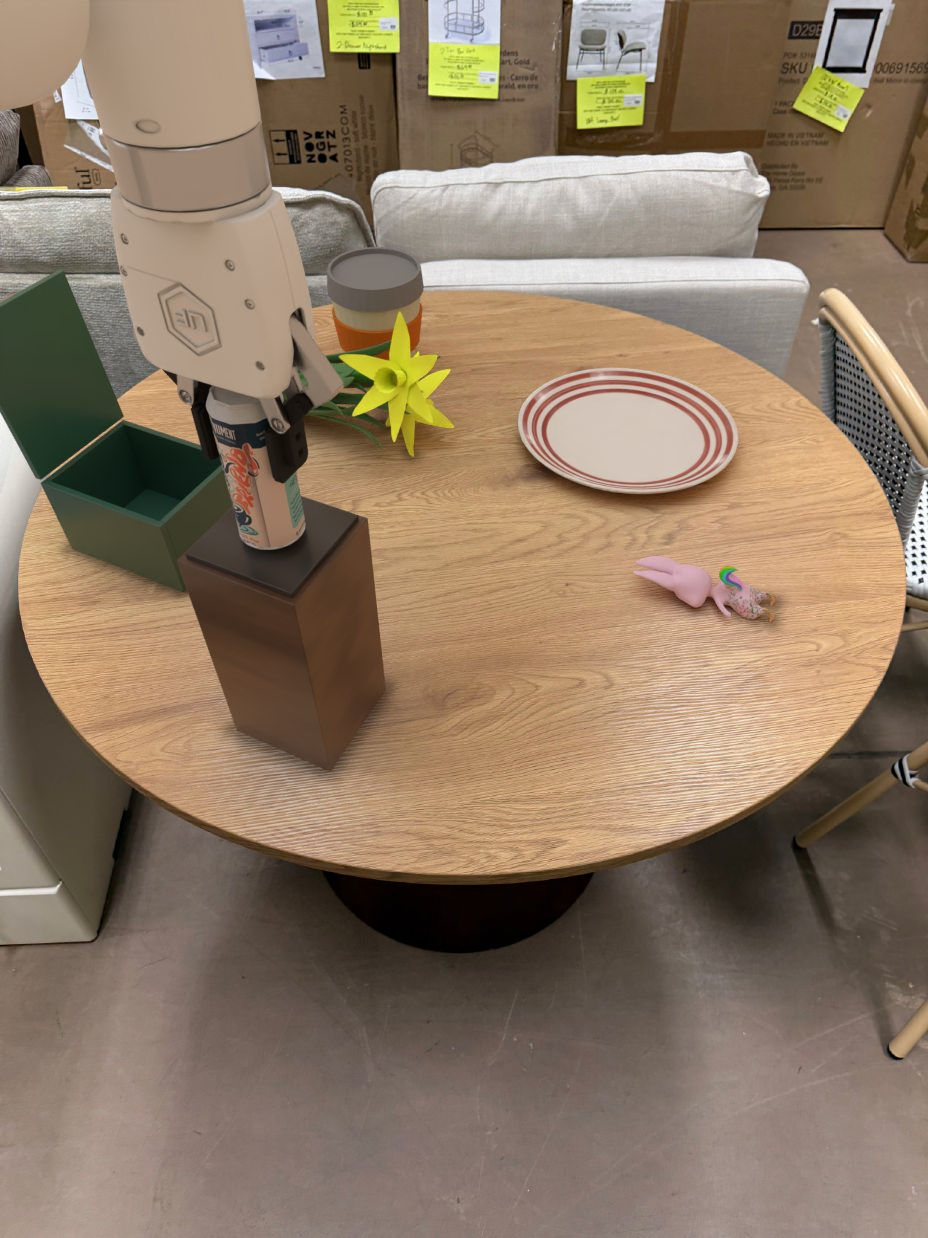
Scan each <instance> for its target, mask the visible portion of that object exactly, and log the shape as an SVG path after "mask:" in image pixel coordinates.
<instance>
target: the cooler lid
mask: <svg viewBox="0 0 928 1238" xmlns="http://www.w3.org/2000/svg"><path fill="white" fill-rule="evenodd" d="M0 415H1V417H2V418H3V420H4V422H5V424H6V426H7V428H8V430H9V431H10V433H11V435H12V437H13V439H14V441H15V443H16V444H17V446H18V448H19V450H20V452H21V454H22V455H23V458H24V460H25V462H26V463H27V465H28V467H29V469H30V471H31V473H32V474H33V476H34V478H35V479H37V480H41V481H43V480H44V478H47V476H48V475H49V474H52V473H53V472H54V471H56V469H58V468H60V467H61V466H62V465H64V463H66V461H67V462H68V461H69V459H71V458H73V456H75V455H77V453H78V452H81V451H82V449H85V448H86V447H87V445H88V446H89V445H90V443H92V442H94V441H95V440H96V439H98V437H100V436H102V434H104V433H106V431H107V430H110V429H111V428H112V427H113V426H115V425H116V424H117V423H119V422H120V421H121V420H123V418H124V417H125V416H124V413H123V410H122V408H121V406H120V403H119V401H118V398H117V396H116V394H115V391H114V389H113V387H112V384H111V382H110V379H109V377H108V373H107V371H106V370H105V367H104V364H103V362H102V359H101V358H100V355H99V353H98V350H97V348H96V345H95V343H94V341H93V338H92V336H91V334H90V331H89V329H88V327H87V323H86V322H85V319H84V317H83V315H82V312H81V308H80V307H79V304H78V302H77V300H76V297H75V295H74V292H73V290H72V288H71V285H70V283H69V281H68V278H67V275H66V273H65V271H64V270H61V269H57V270H55V271H53V272H52V273H50V274H48V275H46V276H45V277H43V278H41V279H38V280H37V281H35V282H34V283H32V284H30V285H29V286H27V287H25V288H24V289H22V290H19V291H18V292H16V293H13V292H12V293H11V294H8V295H7V296H5V297H3V298H1V299H0Z"/></svg>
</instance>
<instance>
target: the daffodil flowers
mask: <svg viewBox="0 0 928 1238" xmlns="http://www.w3.org/2000/svg"><path fill="white" fill-rule="evenodd" d="M388 349H390V352H389V359H390V361H388V360H384V359H379V358H375V357H374V356H376V355H379V354H381V353H383V352H385V351H386V350H388ZM324 355H325V356H326V358H327V359H328V361H329V362H330V363H331V365H332V366H333V368H334V369H335V370H336V372H337V373H338V375H339V376H340V377H341V379H342V381H343V382H344V388H343V389H342V390H344V389H358V390H360V391H362V392H363V393H350V392H341V391H340V392H339V393H338V394H337V395H336V396H335V397H334V398H333V399H332V400H330V401H328V402H326V403H325V404H323V405H321V406H319V407H317V408H314V409H313V410H311V411H309V412H308V413H307V414H306V415H305V416H306V417H307V416H308V417H309V416H310V417H314V418H317V419H318V418H319V419H322V420H327V421H331V422H335V423H338V424H341V425H344V426H348V427H351V428H354V429H355V430H357V431H359V432H361V433H363V434H364V435H366V436H367V438H369V439H370V440H371V441H373V442H374V443H375V444H376V445H377V446H378V447H379V448H380V449H381V450H382V451H384V452H386V449H385V448H384V446H383V445H382V444H381V442H379V440H378V439H377V438H376V437H375V436H374V435H373V433H371V432H370V431H368V430H367V429H365V428H364V427H363V426H361V425H358V424H356V423H353V422H351V421H347V420H344V419H346V416H347V417H351V418H355V419H357V420H361V421H364V422H368V423H370V424H373V425H376V426H379V427H383V428H388V427H390V435H391V439H392V442H393V443H395V442H396V441H397V437H398V434H399V432H400V429H401V432H402V436H403V440H404V443H405V447H406V450H407V452H408V454H409V455H410V457H412V458H414V457H415V451H414V445H415V432H416V431H415V430H416V422H417V423H422V424H425V425H429V426H434V427H438V428H447V429H455V425H454V423H453V422H452V421H451V420H449V418H448V417H446V416H445V415H444V414H443V413H442V412H441V411H440V410H438V409H437V408H436V406H435V405H434V404H435V403H434V402H433V400H432V399H430V398H429V396H430V395H431V394H432V393H433V392H435V390H436V389H437V388H438V387H439V386H440V385H441V384H442V382H443V381H444V380H445V379H446V378H447V376H448V375H449V374H450V372H451V370H452V368H446V369H441V370H437V371H435V372H432V373H430V374H428V373H429V372H430V371H431V370H433V368H434V366H435V364H436V362H437V360H439V358H441V355H438V354H423V355H422V354H421V355H420V351H419V350H418V351H417V352H415V356H414V357H412V358H411V357H410V337H409V333H408V329H407V325H406V323H405V320H404V318H403V316H402V314H401V312H400V311H399V313H398V315H397V319H396V322H395V326H394V330H393V335H392V340H390V341H387V342H385V343H382V344H379V345H376V346H373V347H369V348H365V349H361V350H355V351H349V352H345V351H343V352H338V353H331V354H324ZM296 369H297V371H298V374H299V376H300V379H301V381H302V384H303V387H305V386H306V385H307V381H306V379H305V378H304V376H303V375H302V374H301V372H300V371H299V369H298V368H297V367H296ZM427 374H428V375H427ZM423 377H424V378H423ZM420 379H421V380H420ZM367 389H368V391H367ZM282 395H283V398H284V405H285V404H286V403H287V402H288V400H287V397H286V395H285V392H284V391H283V392H282ZM340 405H349V406H348V407H346V406H345V407H344V406H340ZM351 405H352V406H351ZM373 409H378V410H383V411H387V412H388V417H387V418H386V421H385V423H383V422H380V420H378V419H376V418H375V417H373V416H371V415H370V414H367V412H370V411H372V410H373ZM305 416H304V417H305ZM333 416H342V417H343V418H344V419H341V418H337V417H333Z"/></svg>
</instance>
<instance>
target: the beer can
mask: <svg viewBox="0 0 928 1238" xmlns="http://www.w3.org/2000/svg"><path fill="white" fill-rule="evenodd" d="M209 391H210V392H209V395H208V398H207V401H206V409H207V411H208V414H209V418H210V422H211V425H212V429H213V433H214V437H215V441H216V445H217V448H218V452H219V456H220V460H221V464H222V468H223V471H224V475H225V479H226V483H227V487H228V491H229V494H230V498H231V502H232V506H233V510H234V514H235V517H236V521H237V525H238V529H239V534H240V537H241V539H242V540H243V541H244V542H245V543H246V544H247V545H249V546H251V547H254V548H256V549H261V550H274V549H280V548H283V547H286V546H288V545H290V544H292V543H293V542H295V541H296V540H298V539H299V538H300V537H301V535H302V534H303V532H304V530H305V525H306V523H305V517H304V512H303V506H302V500H301V496H302V494H301V489H300V485H299V479H298V471H296V472H295V473H294V474H293V475H292V476H291V477H290V478H289V479H288V480H287V481H286V482H285V483H283V484H282V483H279V482H276V481H275V480H274V478H273V477H272V472H271V467H270V462H269V457H268V452H267V447H266V443H265V438H264V432H265V430H266V429H267V428H268V427H269V426H270V424H269V422H268V419H267V417H266V415H265V412H264V410H263V408H262V405H261V403H260V401H259V398H255V397H251V396H247V395H244V394H240V393H237V392H233V391H230V390H227V389H223V388H220V387H217V386H213V385H212V386H211V388H210V389H209ZM279 396H280V398H281V401H282V403H283V406H284V398H283V395H282V392H281V394H280V395H279Z"/></svg>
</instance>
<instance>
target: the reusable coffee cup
mask: <svg viewBox="0 0 928 1238" xmlns="http://www.w3.org/2000/svg"><path fill="white" fill-rule="evenodd" d="M326 284H327V285H326V292H327V295H328V298H329V299H330V300H331V303H332V309H331V316H332V319H333V323H334V327H335V331H336V335H337V339H338V343H339V346H340V348H341V349H342V350H343V352H349V351H355V350H361V349H365V348H369V347H373V346H376V345H379V344H382V343H385V342H387V341H390V340H392V335H393V330H394V326H395V322H396V319H397V315H398V313H399V311H400V312H401V314H402V316H403V318H404V320H405V323H406V325H407V329H408V333H409V337H410V357H411V358H412V357H414V356H415V354H416V350H417V349H416V348H417V347H418V345H419V343H420V338H421V329H422V328H421V327H422V319H423V318H422V317H423V306H422V303H421V298H422V297H421V296H422V295H423V293H424V291H425V290H424V287H425V285H424V279H423V272H422V265H421V263H420V261H419V260H418V258H417V257H416V256H414V255H412V254H411V253H410V252H407V251H405V250H401V249H398V248H393V247H385V246H384V247H383V246H370V247H369V246H368V247H361V248H355V249H352V250H351V249H350V250H348V251H346V252H343V253H341V254H339V255H337V256H335V257H334V258H333V259H331V260H330V262H329V263H328V265H327V268H326ZM389 352H390V349H388V350H386V351H385V352H383V353H381V354H379V355H376V356H374V357H375V358H379V359H384V360H388V361H390V359H389Z"/></svg>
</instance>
